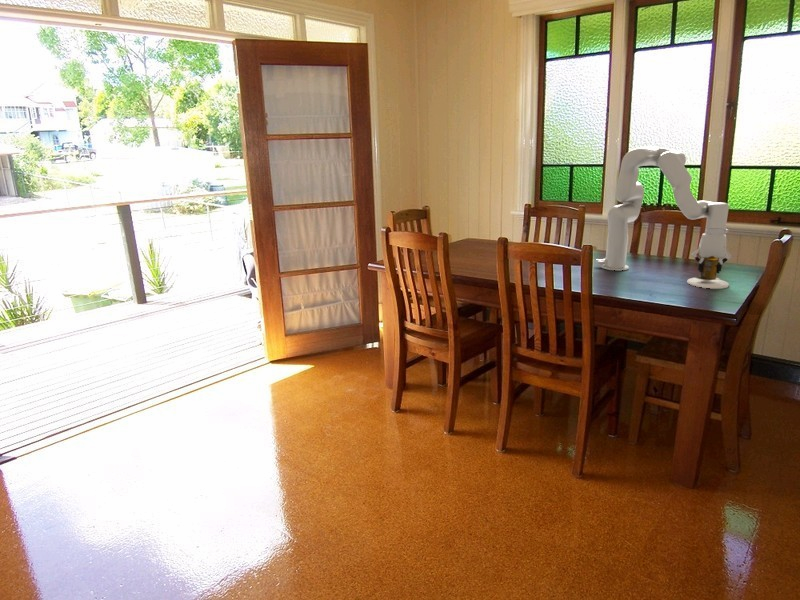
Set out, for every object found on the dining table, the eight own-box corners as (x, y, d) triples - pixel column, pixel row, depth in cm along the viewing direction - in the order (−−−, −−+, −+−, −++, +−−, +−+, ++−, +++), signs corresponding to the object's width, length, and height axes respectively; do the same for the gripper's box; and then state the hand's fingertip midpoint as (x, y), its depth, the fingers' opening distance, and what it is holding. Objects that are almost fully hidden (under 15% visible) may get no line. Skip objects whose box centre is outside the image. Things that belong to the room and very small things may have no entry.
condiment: (720, 278, 237) (724, 252, 234) (707, 281, 234) (711, 254, 230) (704, 275, 243) (708, 249, 240) (692, 277, 240) (695, 251, 237)
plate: (689, 287, 235) (690, 285, 234) (685, 278, 249) (685, 276, 249) (731, 290, 229) (732, 287, 229) (724, 281, 243) (724, 278, 243)
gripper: (736, 231, 233) (729, 271, 238) (691, 229, 239) (685, 269, 244) (739, 233, 226) (733, 275, 231) (693, 232, 232) (688, 272, 237)
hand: (708, 271), depth 238 cm, fingers closed on condiment, 6 cm apart
